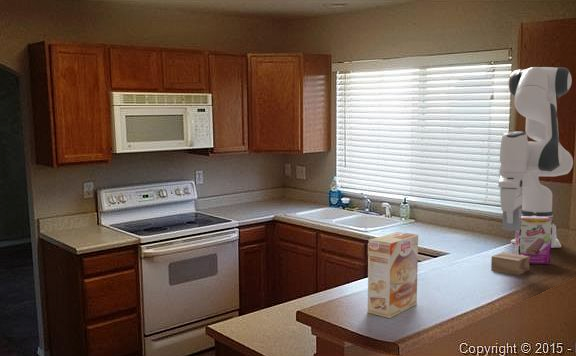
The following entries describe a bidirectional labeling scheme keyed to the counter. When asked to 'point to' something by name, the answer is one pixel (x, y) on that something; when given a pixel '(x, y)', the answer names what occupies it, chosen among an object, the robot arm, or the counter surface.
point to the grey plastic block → (516, 222)
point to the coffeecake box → (392, 273)
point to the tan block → (510, 263)
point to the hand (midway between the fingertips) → (511, 221)
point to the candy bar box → (535, 239)
